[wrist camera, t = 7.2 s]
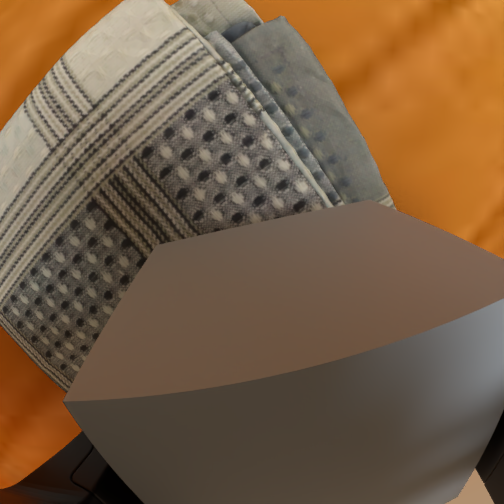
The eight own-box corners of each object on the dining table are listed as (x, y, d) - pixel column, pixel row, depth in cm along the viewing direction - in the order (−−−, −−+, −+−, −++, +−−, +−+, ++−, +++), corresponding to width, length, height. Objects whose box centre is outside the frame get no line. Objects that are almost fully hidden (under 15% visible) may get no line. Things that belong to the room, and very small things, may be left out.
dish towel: (160, 445, 17) (154, 484, 14) (-43, 229, 12) (-79, 245, 9) (427, 282, 15) (462, 309, 12) (223, -27, 10) (224, -65, 7)
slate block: (212, 407, 10) (213, 563, 5) (156, 245, 9) (62, 401, 3) (377, 367, 10) (457, 497, 5) (370, 199, 9) (540, 279, 3)
